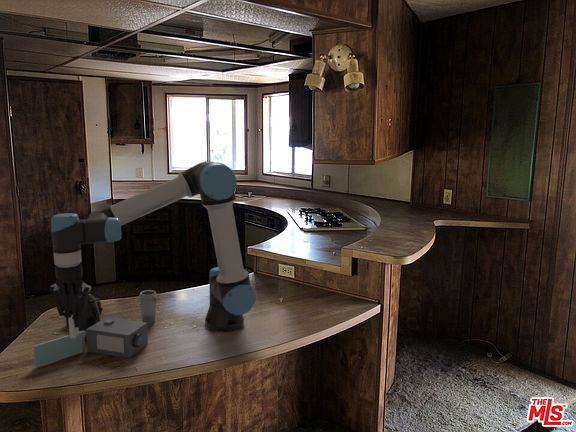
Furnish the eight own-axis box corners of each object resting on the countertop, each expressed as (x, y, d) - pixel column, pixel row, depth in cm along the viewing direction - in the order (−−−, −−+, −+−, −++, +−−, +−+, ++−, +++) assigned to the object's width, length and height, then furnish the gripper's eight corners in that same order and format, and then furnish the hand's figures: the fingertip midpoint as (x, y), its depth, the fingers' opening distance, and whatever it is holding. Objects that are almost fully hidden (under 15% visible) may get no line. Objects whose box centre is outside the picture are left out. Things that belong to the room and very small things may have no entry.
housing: (151, 344, 160) (150, 320, 158) (133, 359, 149) (132, 333, 148) (107, 338, 164) (106, 314, 162) (86, 351, 153) (85, 327, 152)
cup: (161, 322, 179) (160, 293, 177) (145, 327, 174) (145, 297, 172) (151, 317, 184) (150, 288, 182) (136, 321, 179) (135, 292, 177)
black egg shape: (83, 343, 159) (81, 301, 157) (65, 335, 165) (63, 295, 162) (108, 333, 168) (106, 293, 166) (90, 326, 173) (88, 288, 171)
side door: (36, 367, 141) (35, 346, 140) (33, 365, 142) (32, 344, 141) (86, 351, 153) (85, 331, 151) (83, 349, 154) (82, 329, 153)
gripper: (95, 261, 143) (100, 332, 147) (55, 260, 144) (61, 330, 148) (82, 268, 135) (88, 342, 139) (40, 267, 136) (47, 341, 140)
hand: (74, 336), depth 144 cm, fingers closed
